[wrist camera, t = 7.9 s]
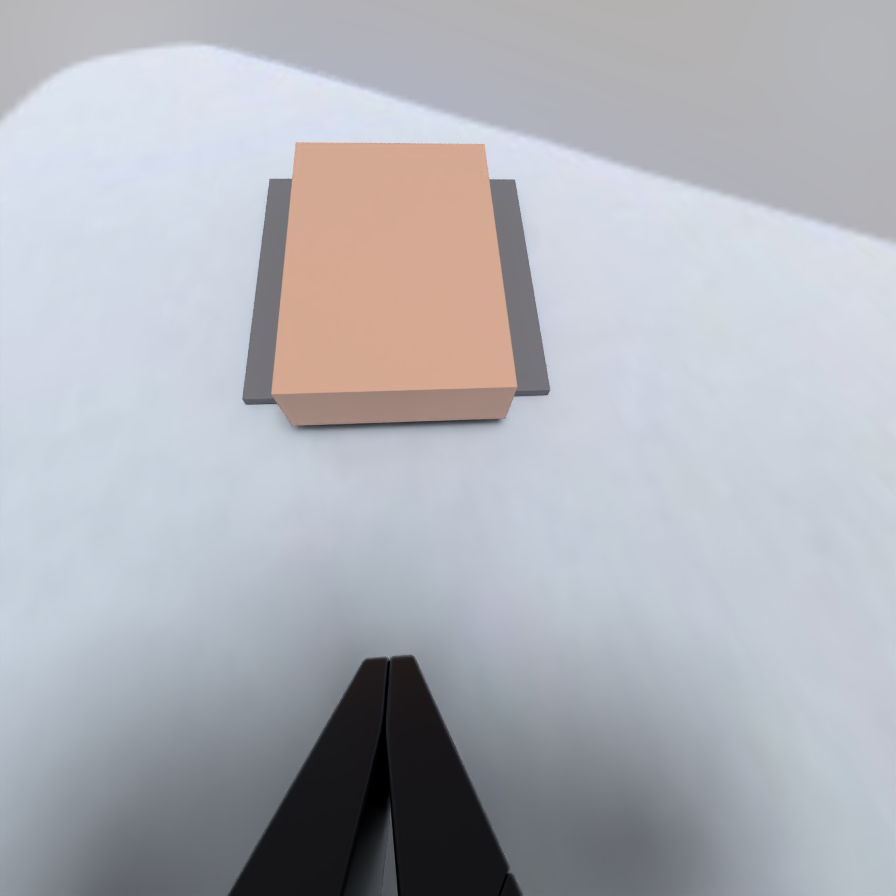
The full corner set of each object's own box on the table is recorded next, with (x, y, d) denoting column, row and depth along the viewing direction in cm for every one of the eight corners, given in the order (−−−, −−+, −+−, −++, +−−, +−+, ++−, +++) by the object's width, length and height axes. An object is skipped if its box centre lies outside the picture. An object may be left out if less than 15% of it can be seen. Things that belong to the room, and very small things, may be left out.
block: (517, 387, 15) (484, 144, 19) (271, 394, 14) (295, 142, 19) (504, 420, 17) (477, 198, 22) (293, 428, 17) (310, 197, 21)
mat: (547, 394, 18) (550, 389, 18) (246, 404, 17) (242, 399, 17) (513, 186, 23) (515, 179, 22) (272, 186, 22) (269, 178, 21)
